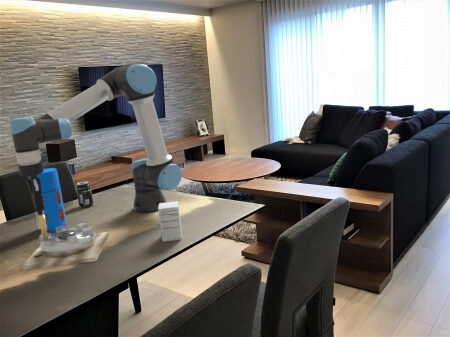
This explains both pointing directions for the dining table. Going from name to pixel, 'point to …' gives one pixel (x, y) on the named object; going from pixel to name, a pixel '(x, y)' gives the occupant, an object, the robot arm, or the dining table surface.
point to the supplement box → (170, 221)
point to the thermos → (52, 199)
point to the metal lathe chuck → (65, 239)
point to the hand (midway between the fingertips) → (42, 227)
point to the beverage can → (84, 194)
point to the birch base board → (85, 256)
